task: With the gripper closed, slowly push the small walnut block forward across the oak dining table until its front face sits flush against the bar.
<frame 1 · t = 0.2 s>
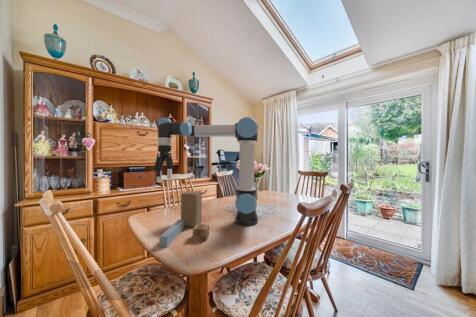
hand: (164, 180, 120), 28 cm above the table, fingers open, 13 cm apart
walnut block: (201, 238, 105), on the table
bar: (173, 236, 106), on the table
wooden block: (191, 224, 125), on the table
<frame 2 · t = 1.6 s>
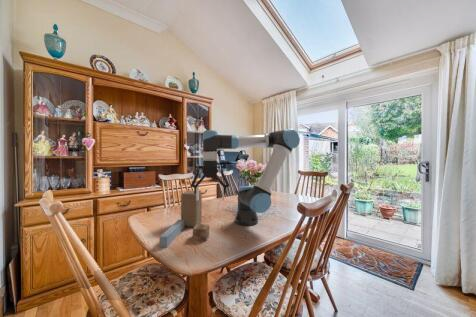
hand: (210, 200, 106), 20 cm above the table, fingers open, 13 cm apart
nothing on the table moved.
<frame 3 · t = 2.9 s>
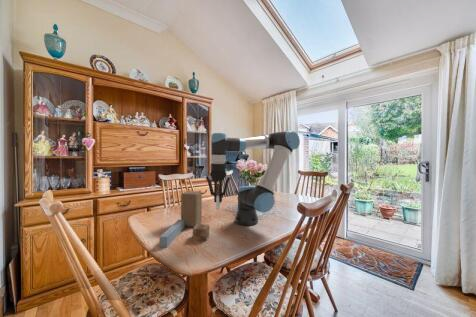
hand: (218, 208, 104), 16 cm above the table, fingers closed
nothing on the table moved.
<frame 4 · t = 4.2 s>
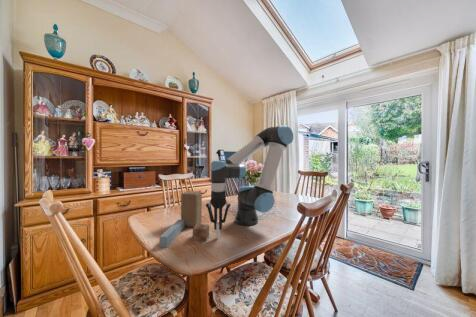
hand: (218, 235, 105), 2 cm above the table, fingers closed
nothing on the table moved.
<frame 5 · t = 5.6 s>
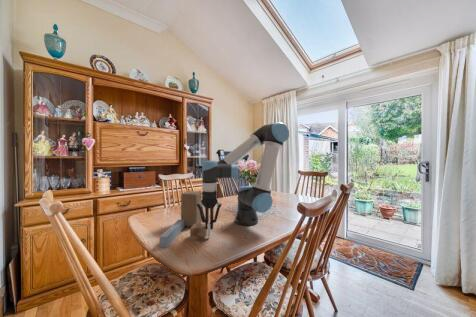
hand: (209, 235, 105), 2 cm above the table, fingers closed
walnut block: (198, 237, 105), on the table, touching gripper
everything else where it was.
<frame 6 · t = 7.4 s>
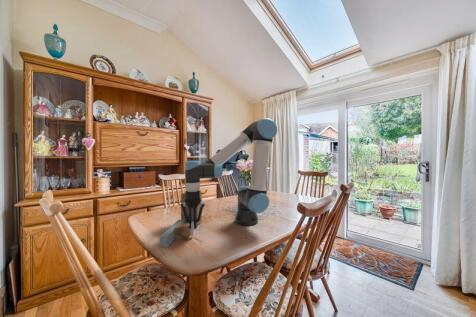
hand: (193, 234, 106), 1 cm above the table, fingers closed
walnut block: (183, 237, 106), on the table, touching bar, gripper
everything else where it was.
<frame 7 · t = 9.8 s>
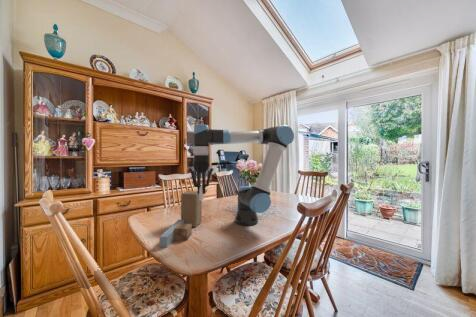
hand: (201, 199, 105), 20 cm above the table, fingers closed
walnut block: (183, 237, 106), on the table
everything else where it was.
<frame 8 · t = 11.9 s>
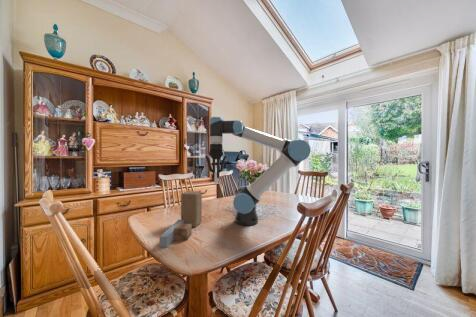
hand: (215, 183, 119), 26 cm above the table, fingers closed
nothing on the table moved.
at the end: walnut block 0.7 cm from the target spot on the table beside the bar, on the table; walnut block tilted 0° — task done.
